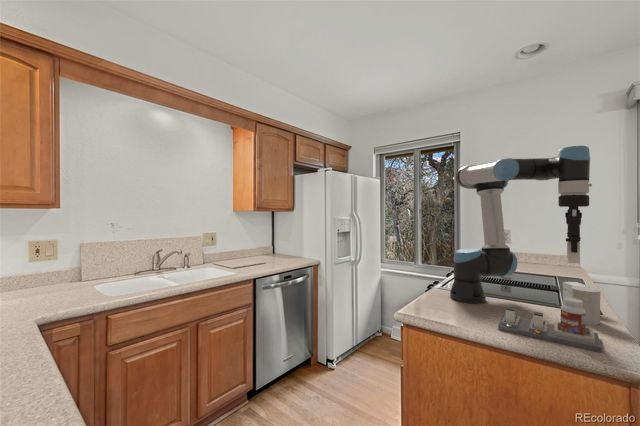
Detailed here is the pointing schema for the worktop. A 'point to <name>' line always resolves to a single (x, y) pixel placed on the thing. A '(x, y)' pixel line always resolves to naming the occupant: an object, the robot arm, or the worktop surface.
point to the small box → (569, 289)
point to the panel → (552, 333)
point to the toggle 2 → (538, 320)
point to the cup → (588, 302)
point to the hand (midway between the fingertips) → (572, 259)
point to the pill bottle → (573, 316)
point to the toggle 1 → (510, 315)
